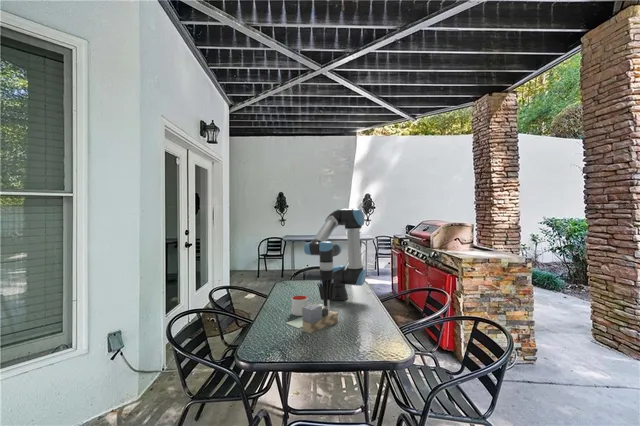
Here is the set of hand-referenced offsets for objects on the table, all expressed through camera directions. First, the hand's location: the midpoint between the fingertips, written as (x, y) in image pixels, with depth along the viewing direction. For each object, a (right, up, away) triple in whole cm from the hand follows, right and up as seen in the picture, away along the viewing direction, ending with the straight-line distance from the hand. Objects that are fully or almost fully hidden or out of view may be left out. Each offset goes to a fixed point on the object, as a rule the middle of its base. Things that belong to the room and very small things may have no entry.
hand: (327, 311), depth 164 cm
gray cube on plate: (-8, -2, -8) cm, 12 cm away
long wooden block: (-3, -7, -4) cm, 8 cm away
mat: (-15, -7, +1) cm, 17 cm away
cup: (-16, -7, +16) cm, 24 cm away
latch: (-2, -2, -2) cm, 3 cm away
